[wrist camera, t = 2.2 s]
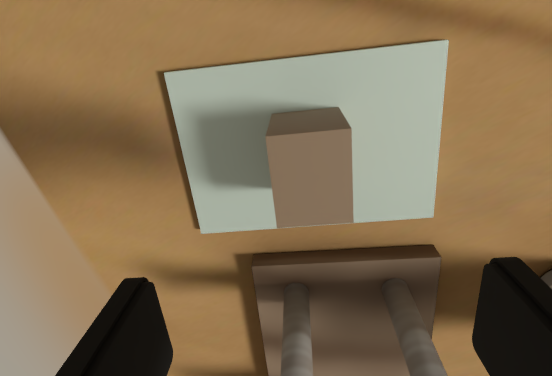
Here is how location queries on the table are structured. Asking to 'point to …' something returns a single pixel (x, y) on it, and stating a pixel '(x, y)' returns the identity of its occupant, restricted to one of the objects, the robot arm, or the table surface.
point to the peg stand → (349, 311)
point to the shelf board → (308, 81)
